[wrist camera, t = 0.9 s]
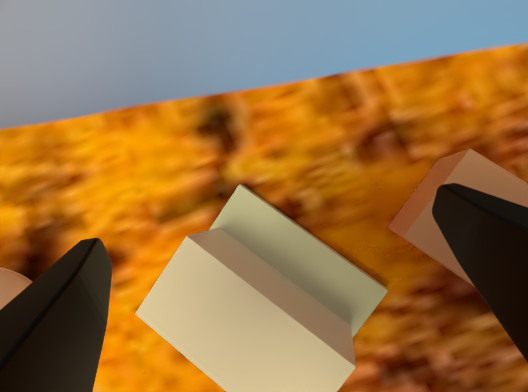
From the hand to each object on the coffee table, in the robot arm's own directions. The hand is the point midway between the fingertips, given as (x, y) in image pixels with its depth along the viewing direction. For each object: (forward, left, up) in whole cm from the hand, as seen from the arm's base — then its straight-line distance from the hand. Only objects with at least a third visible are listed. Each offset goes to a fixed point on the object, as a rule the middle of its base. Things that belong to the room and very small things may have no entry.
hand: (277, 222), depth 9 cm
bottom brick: (-1, +7, -12) cm, 14 cm away
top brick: (-7, -4, -13) cm, 15 cm away
